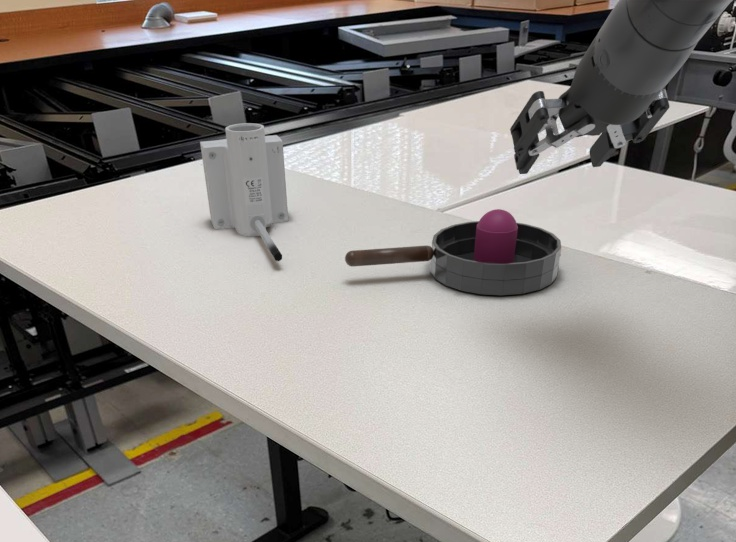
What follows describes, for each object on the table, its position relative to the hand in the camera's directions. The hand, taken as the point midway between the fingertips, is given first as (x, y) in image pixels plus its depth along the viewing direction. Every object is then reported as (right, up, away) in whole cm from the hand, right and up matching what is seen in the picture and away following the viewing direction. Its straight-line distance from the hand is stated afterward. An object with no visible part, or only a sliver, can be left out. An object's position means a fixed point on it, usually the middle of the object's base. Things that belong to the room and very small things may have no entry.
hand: (557, 162), depth 78 cm
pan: (-3, -5, +21) cm, 22 cm away
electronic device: (-36, +3, +33) cm, 49 cm away
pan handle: (-17, -5, +18) cm, 25 cm away
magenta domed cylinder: (-3, -5, +21) cm, 21 cm away
